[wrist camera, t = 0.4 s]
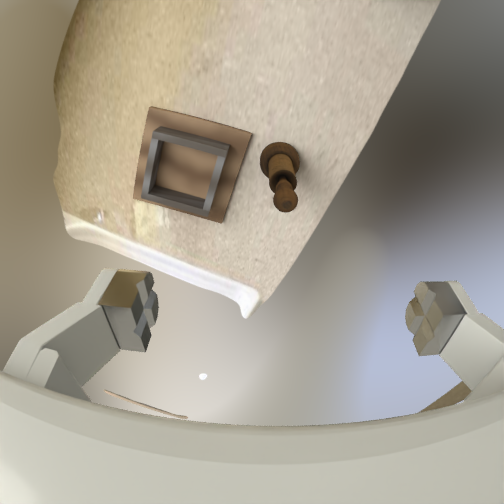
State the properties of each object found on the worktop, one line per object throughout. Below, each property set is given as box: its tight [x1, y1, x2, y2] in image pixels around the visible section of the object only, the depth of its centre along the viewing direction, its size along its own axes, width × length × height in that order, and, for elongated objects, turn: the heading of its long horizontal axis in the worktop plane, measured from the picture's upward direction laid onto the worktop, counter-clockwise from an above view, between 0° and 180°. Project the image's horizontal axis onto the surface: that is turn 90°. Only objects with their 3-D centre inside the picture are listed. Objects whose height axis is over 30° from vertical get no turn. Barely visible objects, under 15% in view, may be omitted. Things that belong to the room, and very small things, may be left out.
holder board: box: [133, 107, 252, 223], centre depth 50 cm, size 18×18×5 cm
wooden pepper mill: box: [260, 142, 300, 212], centre depth 43 cm, size 7×6×18 cm
